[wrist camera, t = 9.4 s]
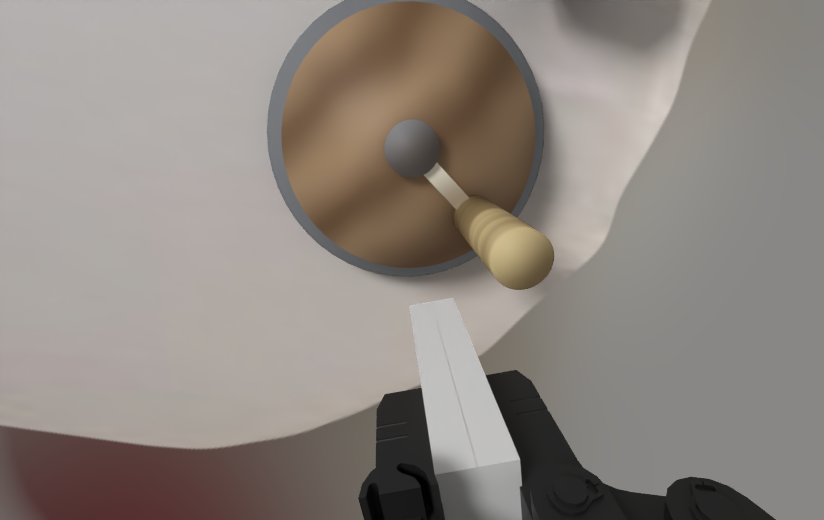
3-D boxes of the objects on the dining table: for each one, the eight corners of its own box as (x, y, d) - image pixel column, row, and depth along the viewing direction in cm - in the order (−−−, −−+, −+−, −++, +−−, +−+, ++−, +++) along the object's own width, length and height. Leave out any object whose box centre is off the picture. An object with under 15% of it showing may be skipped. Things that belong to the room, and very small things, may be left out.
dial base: (320, -59, 25) (305, -104, 20) (578, 67, 29) (617, 54, 24) (246, 221, 30) (220, 237, 26) (471, 297, 34) (485, 324, 29)
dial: (237, 144, 26) (127, 153, 15) (412, -55, 24) (439, -229, 12) (407, 300, 31) (421, 396, 20) (570, 150, 28) (696, 161, 17)
